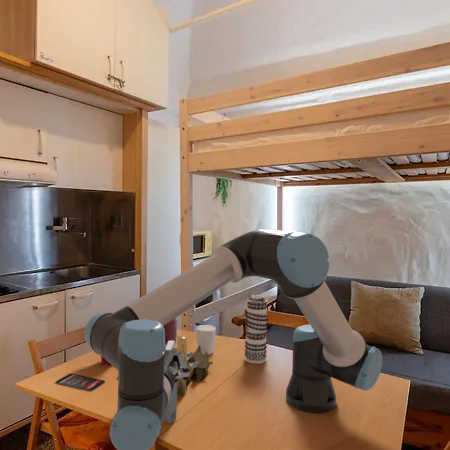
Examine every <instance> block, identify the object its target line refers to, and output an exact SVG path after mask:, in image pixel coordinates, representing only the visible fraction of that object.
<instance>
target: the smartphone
mask: <svg viewBox="0 0 450 450" xmlns="http://www.w3.org/2000/svg"><path fill="white" fill-rule="evenodd" d="M54 383H55V384H57V385H61V386H65V387H68V388H72V389H73V388H74V389H78V390H82V391H86V392H93V391H95V390H96V389H98V388H99V387H101V386H103V385H105V383H106V381H105V380H103V379H97V378H94V377H89V376H86V375H85V376H84V375H81V374H76V373H68V374H67V375H64V376H63V377H61V378H59V379H57V380H56V381H55V382H54Z"/></svg>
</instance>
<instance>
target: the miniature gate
mask: <svg viewBox="0 0 450 450" xmlns="http://www.w3.org/2000/svg"><path fill="white" fill-rule="evenodd" d="M208 356H209V355H207V352H206V353H205V355H202V354H201V347H200V346H199V347H198V348H197V347H196V350H195V351H194V352H187V366H188V367H189V380H186V383H187V382H188V381H191V378H192V376H193V374H194V373H195V375H196V380H197V383H199V382H200V381H201V379H202V378H203V377H202V376H204V374H205V373H208V372H209V369H210V368H209V367H210V366H211V365H213V361H209V358H208Z"/></svg>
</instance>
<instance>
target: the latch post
mask: <svg viewBox="0 0 450 450" xmlns="http://www.w3.org/2000/svg"><path fill="white" fill-rule="evenodd" d="M176 341H177V342H176V343H177V344H176V346H177V347H176V348H177V353H178V352H182V354H183V358H184V361H185V364H186V365H187V353H188V351H187V350H188V337H187V336H186V335H180V336H177V339H176ZM177 372H178V366H177ZM186 394H187V382H186V380H184V379H182V378H181V379H180V378H179V379H178V381H177V397H178V396H179V397H184V396H186Z"/></svg>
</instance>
